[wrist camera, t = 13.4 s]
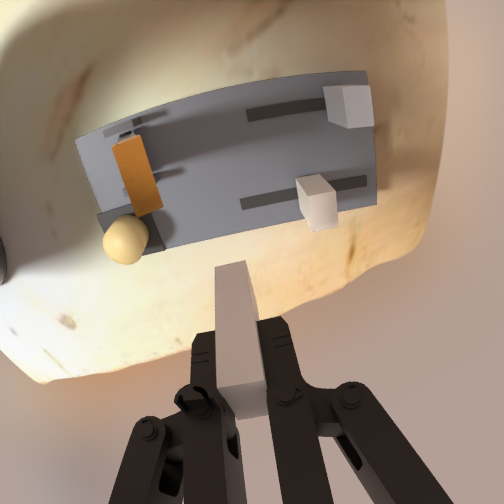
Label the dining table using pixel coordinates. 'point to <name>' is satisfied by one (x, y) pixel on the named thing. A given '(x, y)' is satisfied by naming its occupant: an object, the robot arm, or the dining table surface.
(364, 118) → the grey slider
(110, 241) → the button
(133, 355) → the dining table surface
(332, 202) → the cream slider
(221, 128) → the panel
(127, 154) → the lever
